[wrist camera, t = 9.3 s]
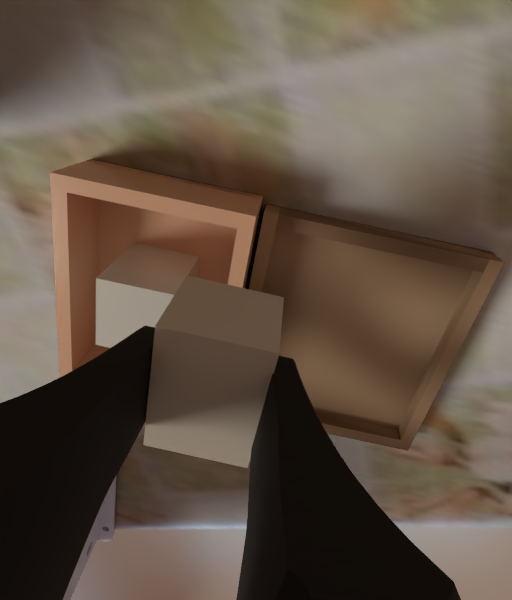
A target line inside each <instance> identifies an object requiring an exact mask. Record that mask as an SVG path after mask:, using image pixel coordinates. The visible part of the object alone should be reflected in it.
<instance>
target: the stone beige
mask: <svg viewBox="0 0 512 600" xmlns="http://www.w3.org/2000/svg"><path fill="white" fill-rule="evenodd" d="M283 302H284V297H281V296H276V295H272V294H267V293H263V292H258V291H254V290H249V289H245V288H241V287H236V286H232V285H227V284H223V283H218V282H214V281H209V280H205V279H201V278H196V277H192V276H186V277H185V279H184V280H183V282H182V284H181V285H180V287H179V288H178V290H177V292H176V293H175V295H174V296H173V298H172V300H171V301H170V303H169V304H168V306H167V308H166V309H165V311H164V312H163V314H162V316H161V317H160V319H159V320H158V322H157V324H156V325H155V333H154V343H153V353H152V363H151V373H150V383H149V393H148V403H147V413H146V423H145V433H144V443H143V445H145V446H150V447H154V448H159V449H163V450H168V451H172V452H177V453H181V454H186V455H190V456H195V457H199V458H204V459H208V460H213V461H217V462H222V463H226V464H231V465H235V466H240V467H244V468H248V465H249V461H250V458H251V448H252V445H253V441H254V438H255V434H256V431H257V427H258V423H259V420H260V416H261V413H262V409H263V405H264V402H265V398H266V395H267V391H268V388H269V384H270V380H271V377H272V373H273V374H274V371H275V367H276V364H277V360H278V357H279V352H280V339H281V327H282V315H283Z"/></svg>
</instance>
